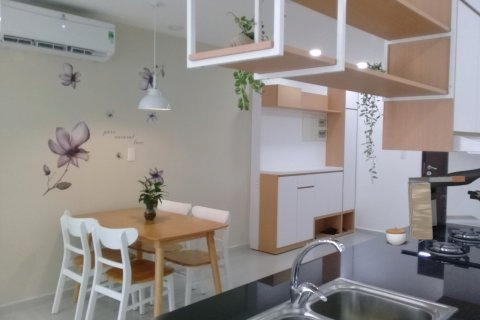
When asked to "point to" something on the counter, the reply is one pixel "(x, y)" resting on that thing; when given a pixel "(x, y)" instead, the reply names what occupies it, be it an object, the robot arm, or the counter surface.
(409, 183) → the birch stand
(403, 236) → the lidded jar
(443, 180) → the breaker handle
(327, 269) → the counter surface
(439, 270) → the counter surface
